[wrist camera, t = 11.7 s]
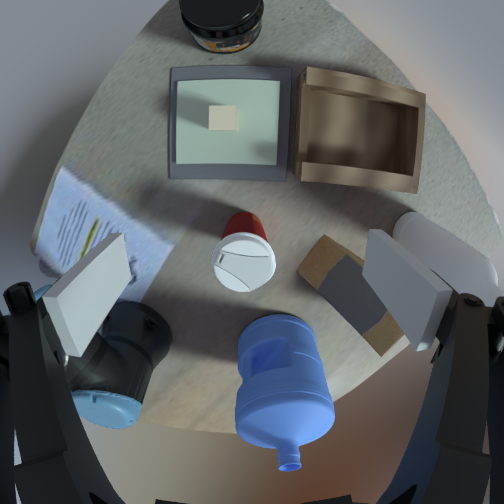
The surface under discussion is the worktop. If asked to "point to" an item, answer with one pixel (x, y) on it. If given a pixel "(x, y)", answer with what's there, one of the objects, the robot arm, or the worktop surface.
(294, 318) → the water jug
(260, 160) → the cover plate
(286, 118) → the charcoal mat
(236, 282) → the paper cup
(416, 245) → the bottle
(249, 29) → the supplement container
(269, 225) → the worktop surface
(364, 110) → the walnut box
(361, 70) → the worktop surface
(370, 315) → the sandwich container
